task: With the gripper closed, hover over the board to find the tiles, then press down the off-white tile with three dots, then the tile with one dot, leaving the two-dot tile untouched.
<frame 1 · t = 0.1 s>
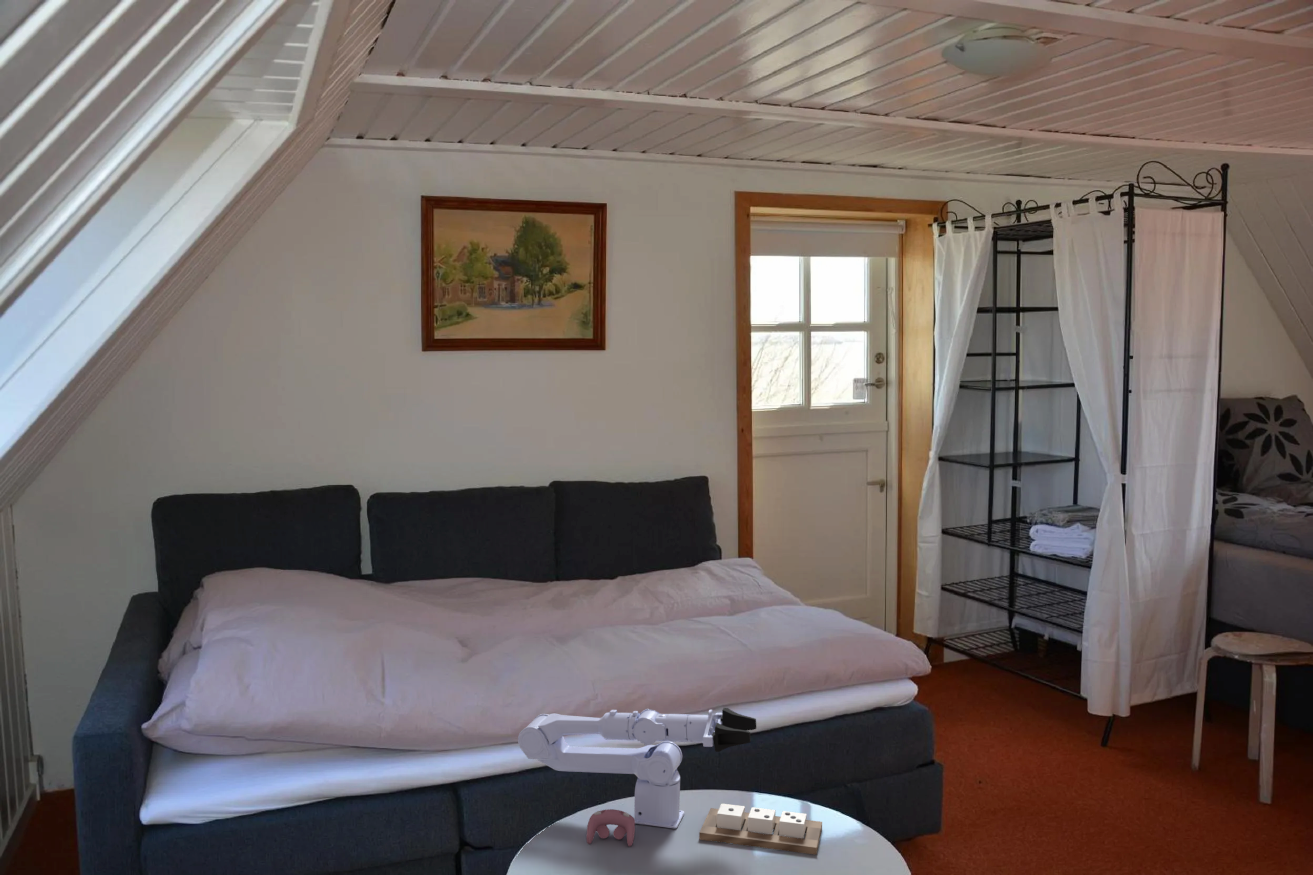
hand: (753, 730, 221), 22 cm above the table, tool horizontal, fingers open, 7 cm apart
one dot tile: (731, 816, 223), point 3 cm above the table, slide at 0.0 cm
two dot tile: (761, 820, 221), point 3 cm above the table, slide at 0.0 cm
video game controller: (610, 841, 218), on the table
three dot tile: (792, 824, 219), point 3 cm above the table, slide at 0.0 cm
tile board: (761, 833, 221), on the table
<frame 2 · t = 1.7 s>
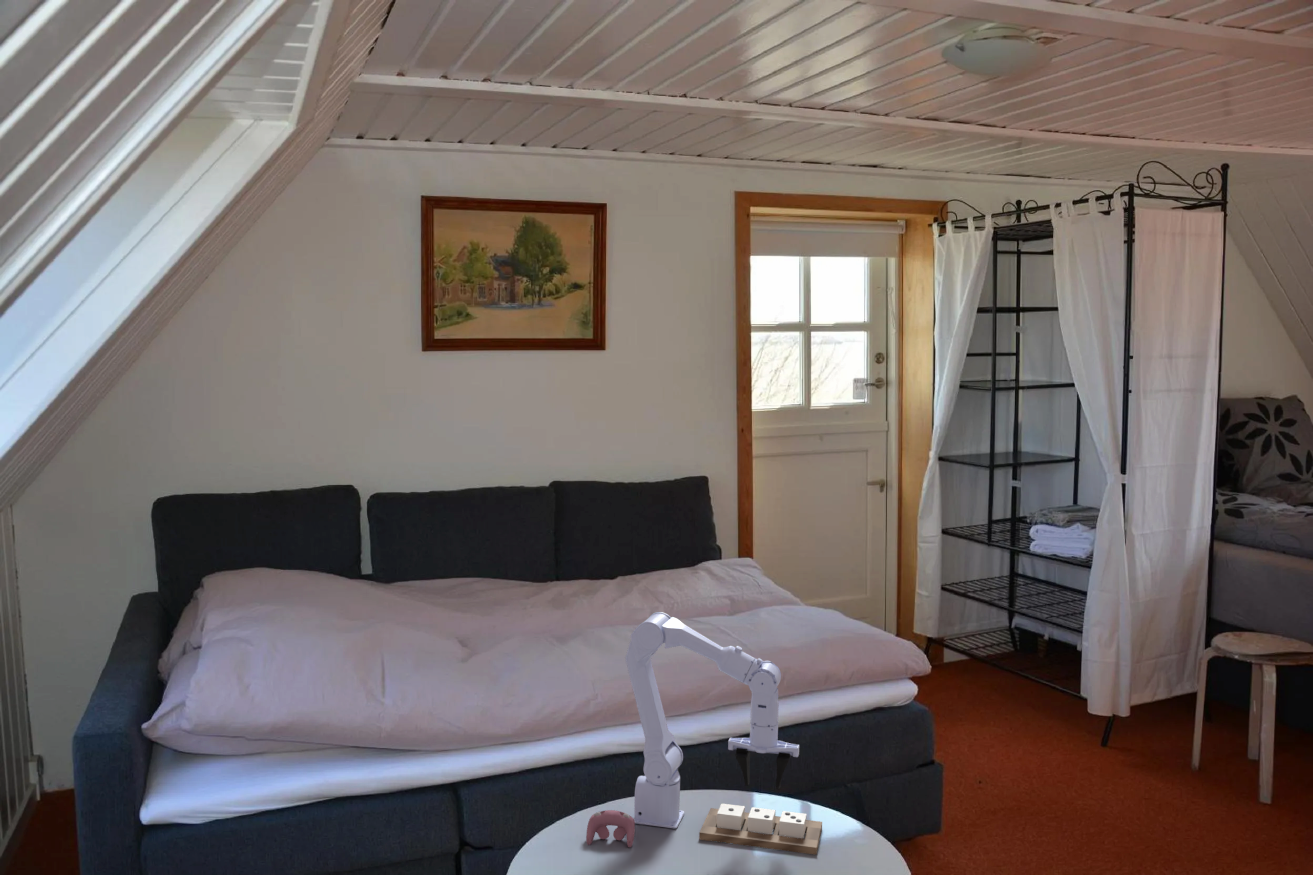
hand: (762, 785, 220), 10 cm above the table, tool pointing down, fingers open, 6 cm apart
nothing on the table moved.
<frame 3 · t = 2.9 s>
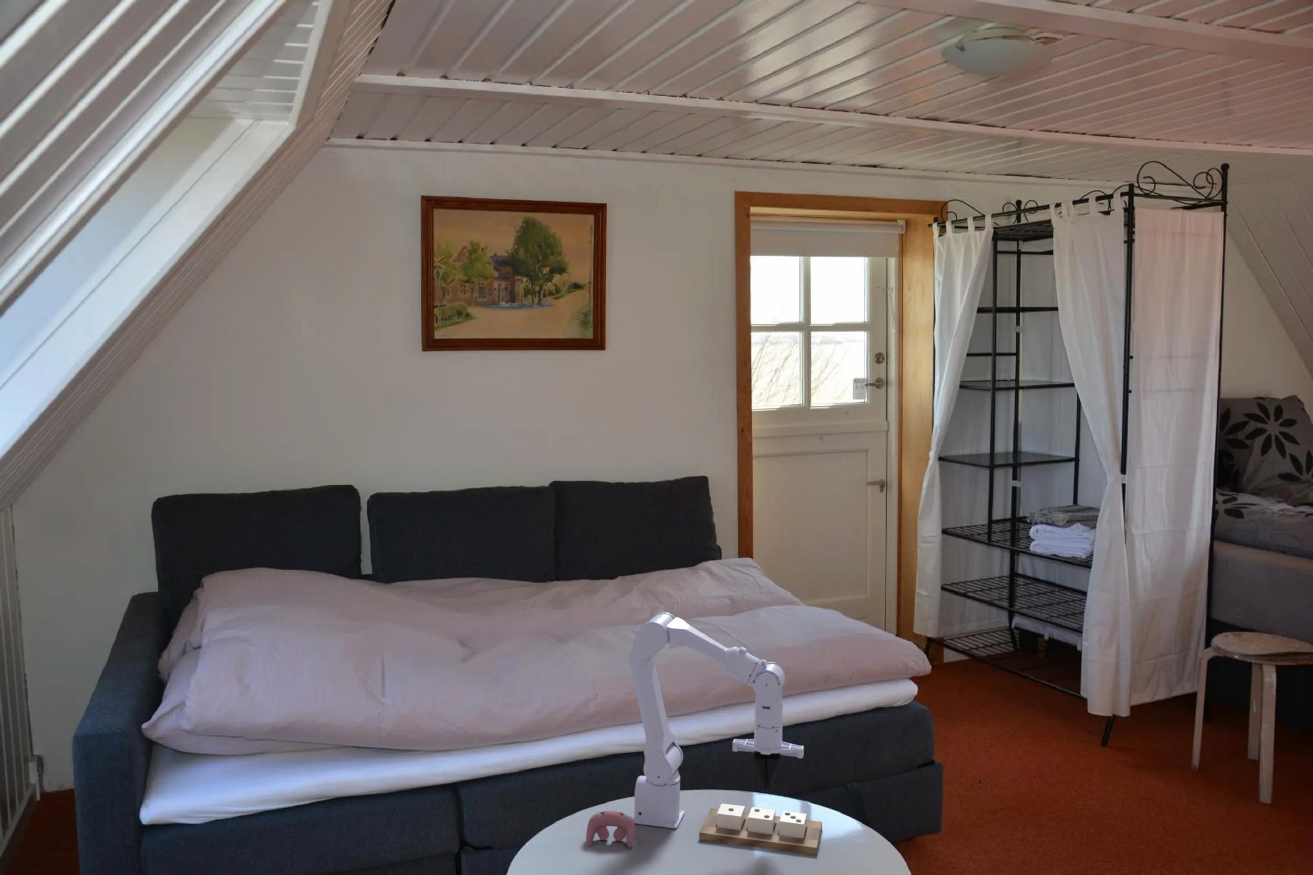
hand: (767, 787, 220), 10 cm above the table, tool pointing down, fingers closed
nothing on the table moved.
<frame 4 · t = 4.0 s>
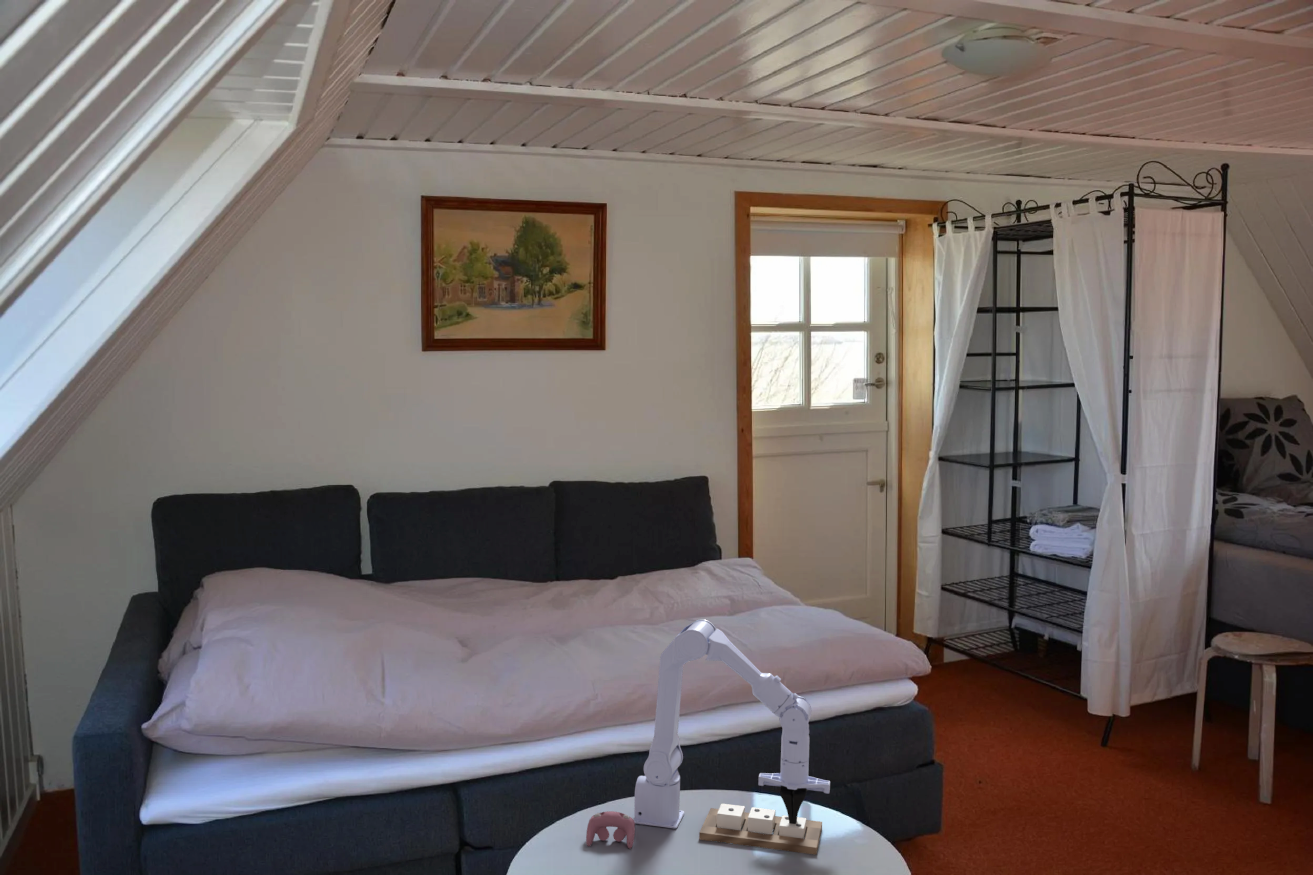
hand: (793, 821, 219), 4 cm above the table, tool pointing down, fingers closed, pressing on three dot tile
three dot tile: (792, 828, 219), point 2 cm above the table, slide at 0.9 cm, touching gripper
everything else where it was.
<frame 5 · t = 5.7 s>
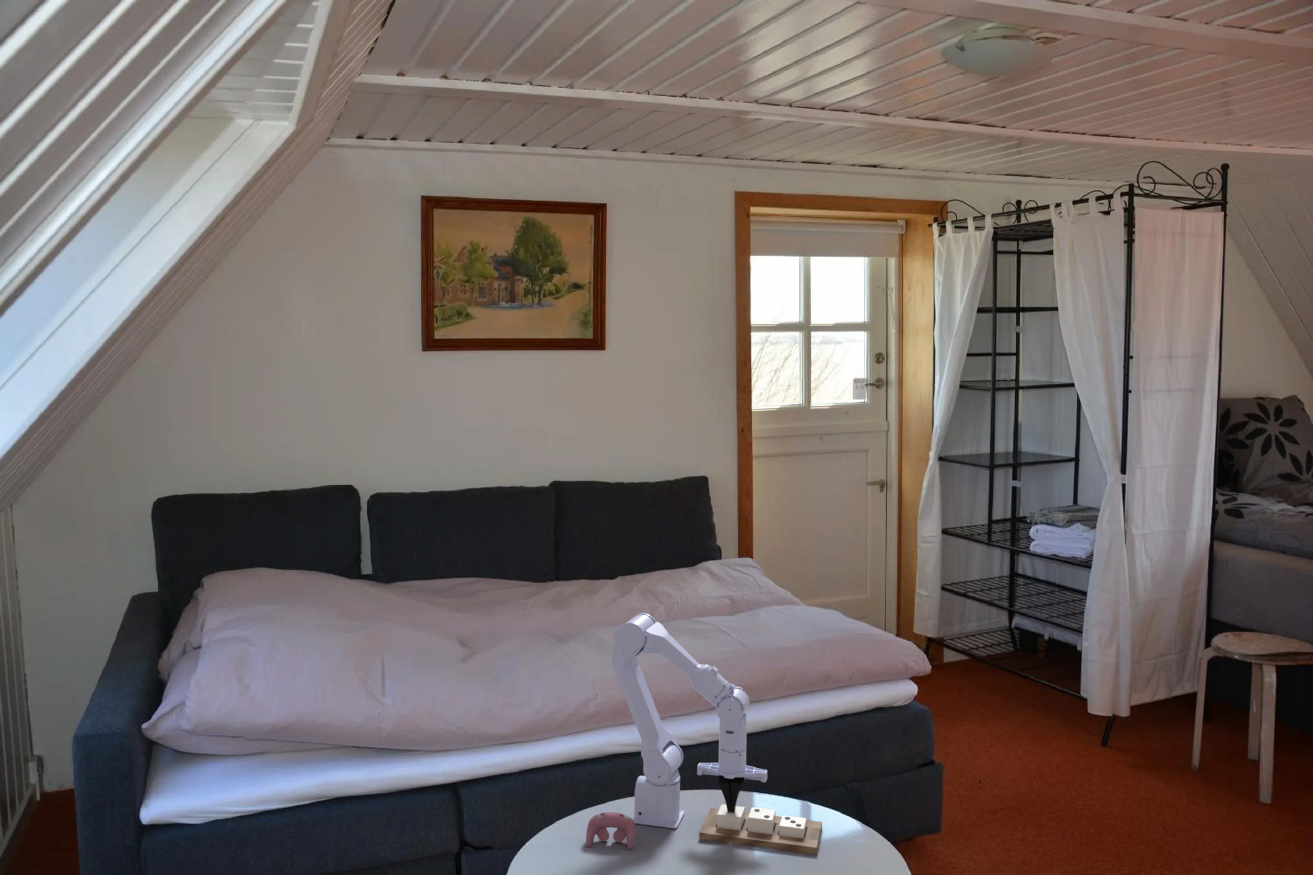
hand: (731, 810, 222), 4 cm above the table, tool pointing down, fingers closed, pressing on one dot tile
one dot tile: (730, 817, 223), point 3 cm above the table, slide at 0.2 cm, touching gripper
three dot tile: (792, 828, 219), point 2 cm above the table, slide at 0.9 cm
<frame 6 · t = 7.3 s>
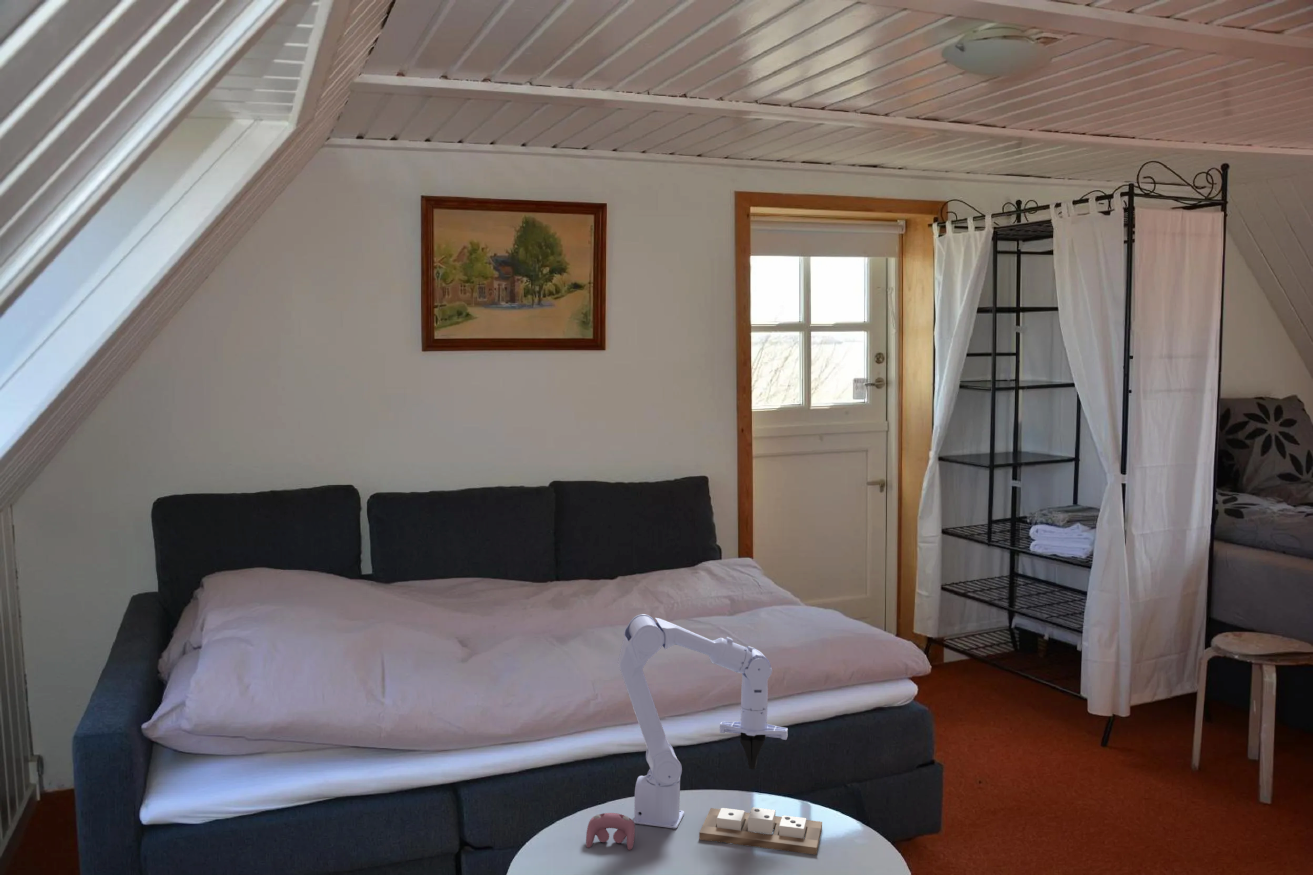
hand: (752, 767, 230), 10 cm above the table, tool pointing down, fingers closed
one dot tile: (730, 820, 223), point 2 cm above the table, slide at 0.9 cm
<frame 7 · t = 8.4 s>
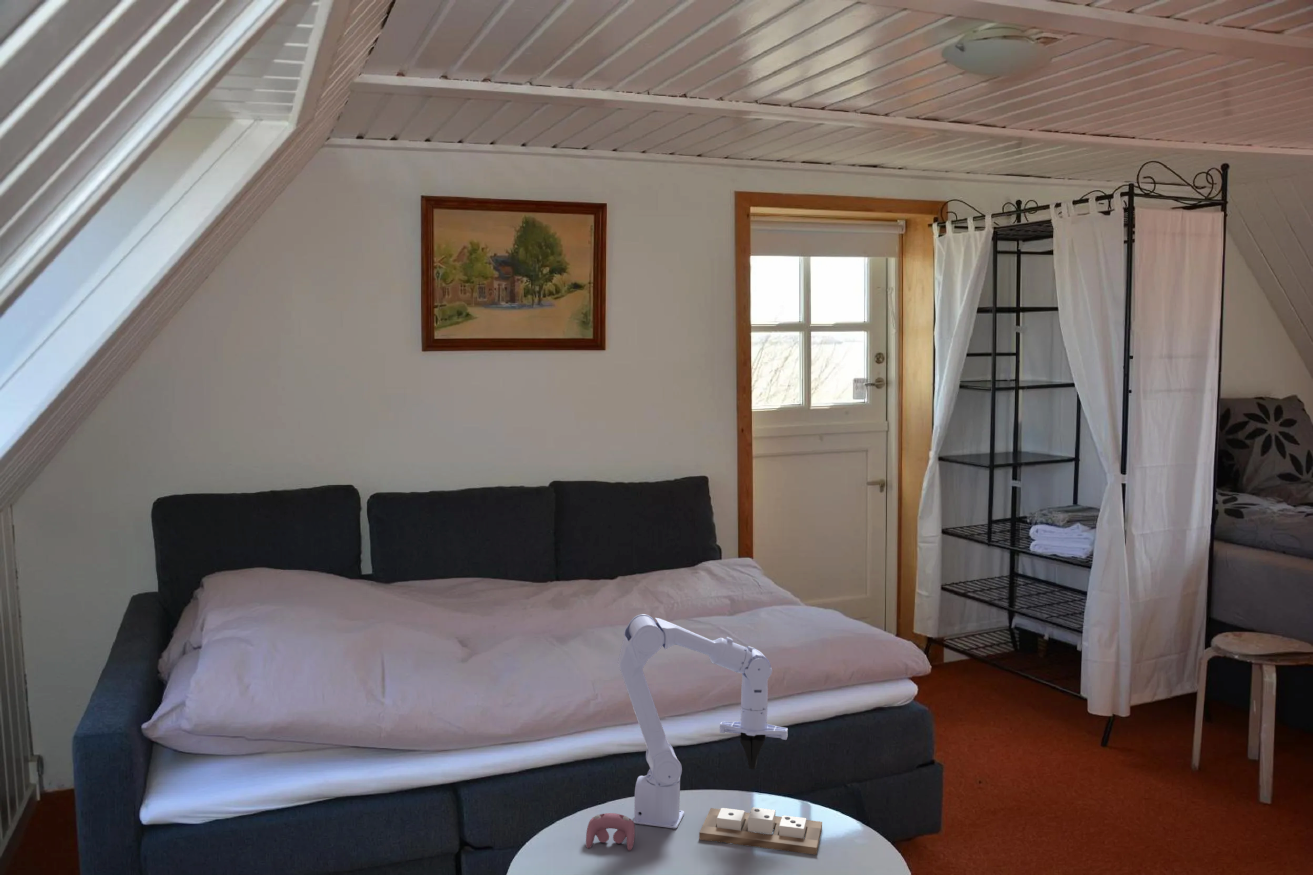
hand: (752, 767, 230), 10 cm above the table, tool pointing down, fingers closed
at the end: three dot tile slide at 0.9 cm; one dot tile slide at 0.9 cm; two dot tile slide at 0.0 cm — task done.
